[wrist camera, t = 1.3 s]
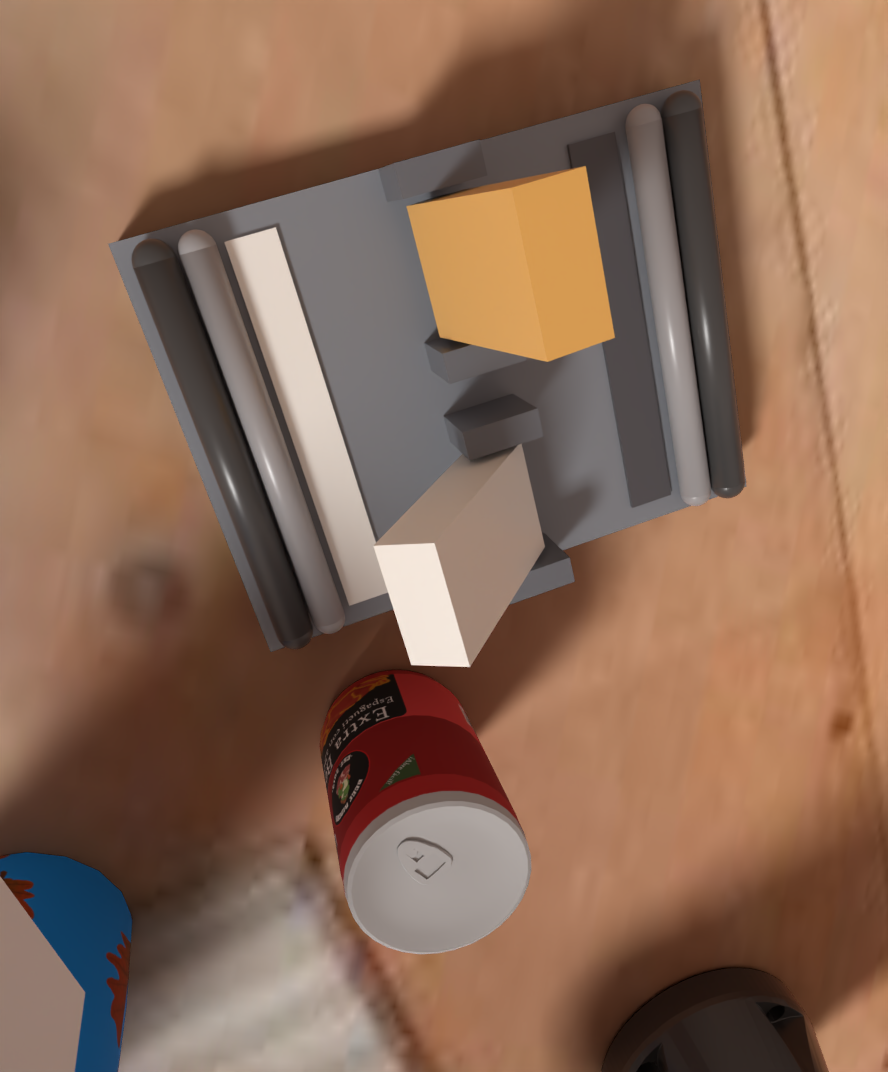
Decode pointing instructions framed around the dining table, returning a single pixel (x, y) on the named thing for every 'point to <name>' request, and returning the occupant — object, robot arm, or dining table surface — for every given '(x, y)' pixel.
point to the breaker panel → (440, 361)
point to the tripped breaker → (516, 265)
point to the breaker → (461, 557)
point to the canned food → (419, 816)
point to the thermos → (81, 942)
